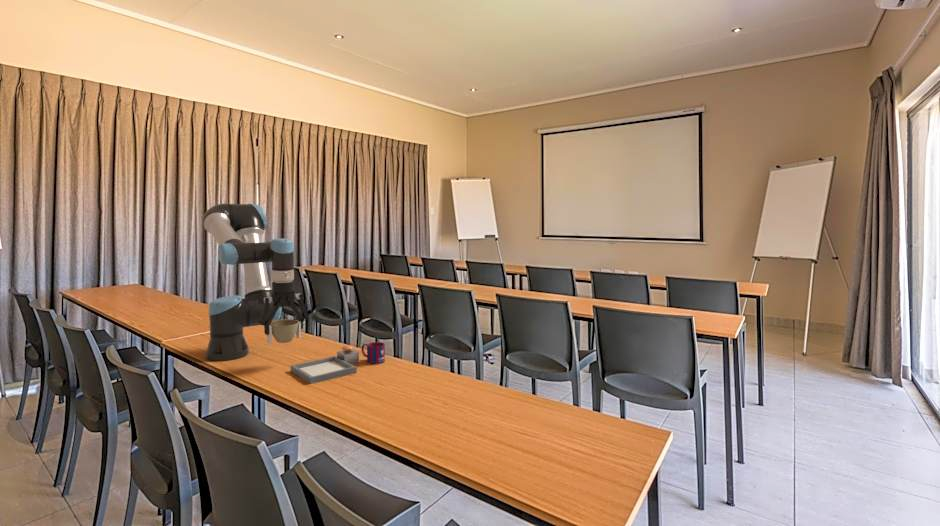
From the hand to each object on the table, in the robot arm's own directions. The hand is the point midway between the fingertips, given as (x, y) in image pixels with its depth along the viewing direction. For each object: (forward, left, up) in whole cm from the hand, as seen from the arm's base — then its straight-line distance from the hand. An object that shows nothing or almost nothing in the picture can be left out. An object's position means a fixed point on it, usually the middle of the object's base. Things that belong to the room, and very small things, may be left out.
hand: (284, 340), depth 171 cm
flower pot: (0, 0, -1) cm, 1 cm away
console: (+11, +20, -10) cm, 25 cm away
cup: (+16, +28, -10) cm, 34 cm away
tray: (+15, +8, -10) cm, 20 cm away
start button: (+11, +20, -7) cm, 24 cm away
